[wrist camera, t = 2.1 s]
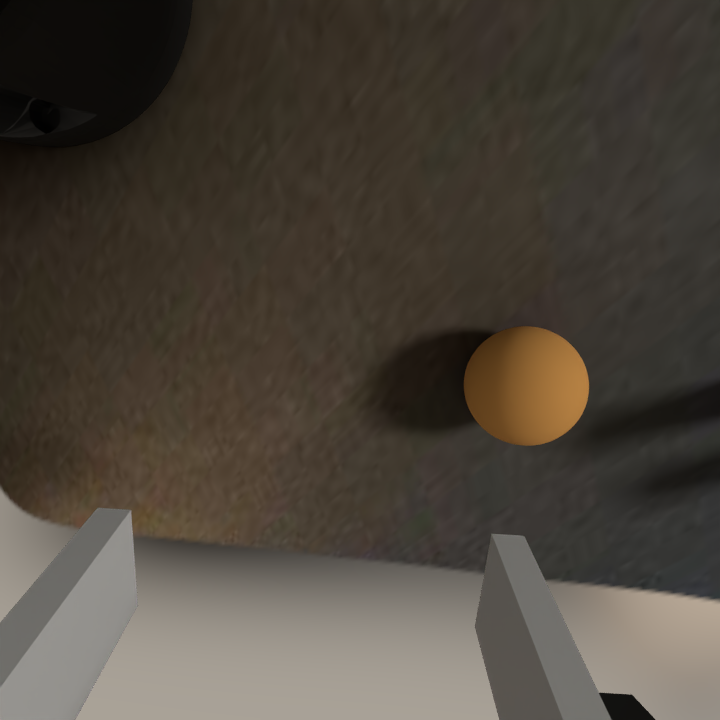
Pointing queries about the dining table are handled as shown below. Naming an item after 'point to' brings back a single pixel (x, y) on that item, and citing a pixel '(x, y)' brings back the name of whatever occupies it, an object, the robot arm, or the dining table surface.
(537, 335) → the ball
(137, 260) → the dining table surface
